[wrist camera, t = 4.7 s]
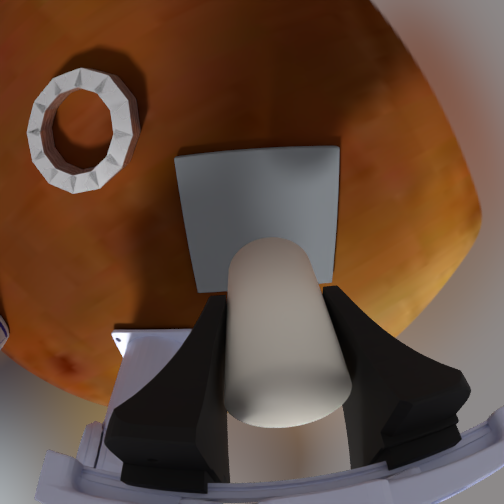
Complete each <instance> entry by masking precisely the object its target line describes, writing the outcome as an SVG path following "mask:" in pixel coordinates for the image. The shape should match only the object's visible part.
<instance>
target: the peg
mask: <svg viewBox="0 0 504 504" xmlns="http://www.w3.org/2000/svg"><path fill="white" fill-rule="evenodd" d="M351 389H352V382H351V379H350V375H349V372H348V369H347V366H346V363H345V360H344V357H343V354H342V351H341V348H340V345H339V342H338V339H337V336H336V333H335V330H334V327H333V324H332V321H331V318H330V315H329V312H328V310H327V307H326V304H325V301H324V298H323V295H322V293H321V290H320V287H319V284H318V282H317V279H316V276H315V273H314V271H313V268H312V265H311V263H310V260H309V258H308V256H307V254H306V252H305V251H304V250H303V249H302V248H301V247H300V246H299V245H297V244H296V243H294V242H292V241H290V240H287V239H283V238H277V237H267V238H261V239H258V240H255V241H252V242H250V243H248V244H247V245H245V246H244V247H242V248H241V249H240V250H239V251H238V252H237V253H236V254H235V256H234V257H233V259H232V261H231V263H230V266H229V274H228V295H227V318H226V344H225V375H224V405H225V408H226V410H227V411H228V412H229V414H231V415H232V416H233V417H234V418H236V419H237V420H239V421H241V422H244V423H246V424H250V425H254V426H259V427H266V428H284V427H293V426H299V425H303V424H307V423H310V422H313V421H316V420H318V419H321V418H323V417H325V416H327V415H329V414H330V413H332V412H334V411H335V410H336V409H338V408H339V407H340V406H341V405H342V404H343V403H344V402H345V401H346V400H347V398H348V397H349V395H350V393H351Z"/></svg>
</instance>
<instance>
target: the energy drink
mask: <svg viewBox="0 0 504 504" xmlns="http://www.w3.org/2000/svg"><path fill="white" fill-rule="evenodd" d="M8 337H9V329H8V326H7V324H6V322H5V321H4V319H3V318H2V317H1V316H0V350H1V349H2V347H3V345H4V344H5V342H6V341H7V339H8Z"/></svg>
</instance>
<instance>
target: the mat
mask: <svg viewBox="0 0 504 504" xmlns="http://www.w3.org/2000/svg"><path fill="white" fill-rule="evenodd" d="M339 149H340V148H339V147H338V146H295V147H272V148H255V149H242V150H230V151H219V152H209V153H200V154H191V155H183V156H176V157H175V158H174V161H175V168H176V175H177V181H178V188H179V194H180V200H181V206H182V212H183V218H184V223H185V229H186V235H187V240H188V245H189V251H190V256H191V261H192V266H193V271H194V276H195V281H196V286H197V290H198V293H206V292H222V291H228V274H229V266H230V263H231V261H232V259H233V257H234V256H235V254H236V253H237V252H238V251H239V250H240V249H241V248H242V247H244V246H245V245H247V244H248V243H250V242H252V241H255V240H258V239H261V238H267V237H277V238H283V239H287V240H290V241H292V242H294V243H296V244H297V245H299V246H300V247H301V248H302V249H303V250H304V251H305V252H306V254H307V256H308V258H309V260H310V263H311V265H312V268H313V271H314V273H315V276H316V279H317V282H318V284H320V283H330V282H332V275H333V264H334V253H335V240H336V226H337V209H338V188H339Z"/></svg>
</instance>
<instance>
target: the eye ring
mask: <svg viewBox="0 0 504 504" xmlns="http://www.w3.org/2000/svg"><path fill="white" fill-rule="evenodd" d="M80 89H86V90H89V91H92V92H96V93H97V94H98V95H99V96H100V98H101V99H102V100H103V101H104V103H105V104H106V105H107V107H108V108H109V109H110V112H111V119H112V126H113V133H114V134H113V137H112V141H111V144H110V147H109V150H108V153H107V156H106V157H105V158H104V159H103V160H102V161H101V162H100V163H99V164H98V165H97V166H96V167H91V168H87V169H81V168H79V167H76V166H74V165H71V164H69V163H66V161H65V160H64V159H63V157H62V156H61V155H60V153H59V152H58V151H57V149H56V148H55V144H54V138H53V132H52V125H53V122H54V118H55V114H56V111H57V108H58V107H59V105H60V104H61V103H62V102H63V101H64V100H65V98H66V97H67V96H68V95H69V94H70V93H71V92H74V91H77V90H80ZM140 132H141V130H140V123H139V115H138V107H137V100H136V98H135V97H134V96H133V94H132V93H131V92H130V90H129V89H128V88H127V87H126V85H125V84H124V83H123V82H122V80H121V79H120V78H119V76H116V75H113V74H110V73H106V72H103V71H99V70H95V69H92V68H78V69H76V70H73V71H70V72H68V73H65V74H63V75H60V76H58V77H55V78H53V79H52V80H51V82H50V83H49V84H48V85H47V86H46V88H45V89H44V90H43V91H42V93H41V94H40V95H39V96H38V98H37V99H36V100H35V102H34V104H33V108H32V112H31V116H30V120H29V125H28V129H27V136H28V141H29V147H30V152H31V157H32V161H33V163H34V164H35V165H36V167H37V168H38V169H39V171H40V172H41V173H42V175H43V176H44V177H45V179H46V180H47V181H48V183H49V184H51V185H54V186H56V187H59V188H61V189H63V190H66V191H68V192H70V193H73V194H74V193H79V192H85V191H90V190H95V189H100V188H101V187H102V186H104V185H105V184H106V183H107V182H109V181H110V180H111V179H112V178H113V177H114V176H115V175H116V174H117V173H118V172H119V171H120V170H122V169H123V168H124V167H125V166H126V165H127V164H128V163H129V162H130V160H131V157H132V155H133V152H134V149H135V146H136V143H137V140H138V138H139V135H140Z"/></svg>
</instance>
